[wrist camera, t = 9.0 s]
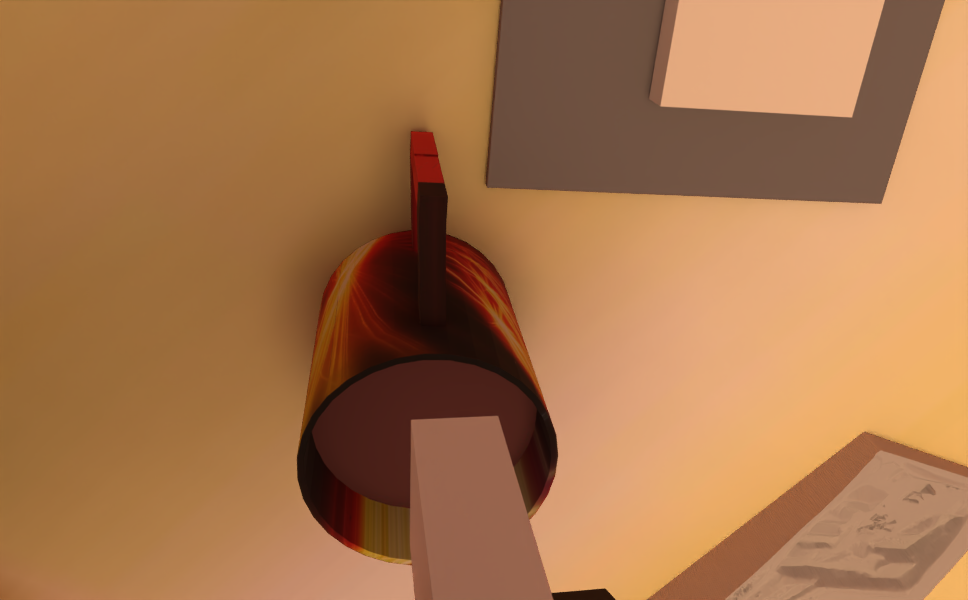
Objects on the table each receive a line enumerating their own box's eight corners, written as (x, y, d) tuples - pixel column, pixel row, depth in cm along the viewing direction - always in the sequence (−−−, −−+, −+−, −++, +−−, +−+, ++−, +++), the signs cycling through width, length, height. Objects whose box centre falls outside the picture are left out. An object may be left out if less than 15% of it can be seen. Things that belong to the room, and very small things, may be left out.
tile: (660, 106, 34) (852, 117, 35) (691, -73, 31) (899, -53, 32) (647, 98, 35) (831, 109, 37) (676, -73, 32) (875, -54, 34)
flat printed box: (976, 374, 46) (1046, 427, 41) (1011, 547, 53) (1075, 610, 48) (549, 566, 49) (567, 637, 44) (636, 707, 56) (660, 782, 51)
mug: (426, 116, 35) (447, 202, 24) (538, 354, 41) (594, 505, 31) (237, 206, 36) (175, 326, 25) (374, 426, 42) (372, 598, 31)
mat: (485, 183, 37) (487, 187, 36) (519, -219, 30) (521, -221, 29) (874, 199, 40) (881, 203, 39) (986, -164, 33) (996, -165, 32)
